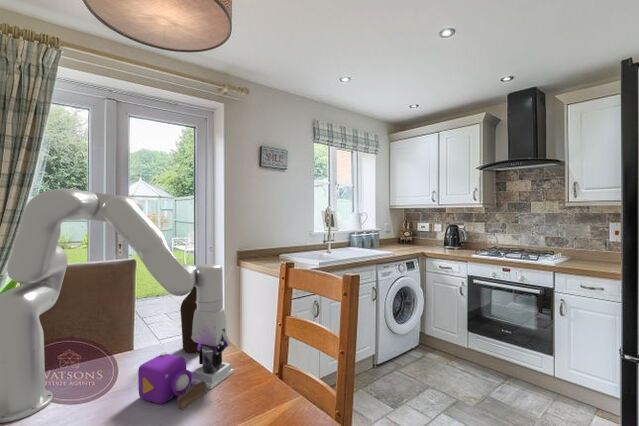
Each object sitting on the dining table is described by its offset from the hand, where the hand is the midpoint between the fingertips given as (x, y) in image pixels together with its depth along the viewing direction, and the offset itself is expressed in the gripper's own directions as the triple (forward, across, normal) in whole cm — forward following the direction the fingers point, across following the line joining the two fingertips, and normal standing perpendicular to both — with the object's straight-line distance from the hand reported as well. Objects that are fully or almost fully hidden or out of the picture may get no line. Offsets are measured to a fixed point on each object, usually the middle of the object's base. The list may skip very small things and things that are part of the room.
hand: (210, 363), depth 98 cm
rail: (+4, +4, -11) cm, 13 cm away
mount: (+4, 0, 0) cm, 4 cm away
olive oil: (+5, -19, +14) cm, 24 cm away
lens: (+2, 0, 0) cm, 2 cm away
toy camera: (+5, -5, -12) cm, 13 cm away
